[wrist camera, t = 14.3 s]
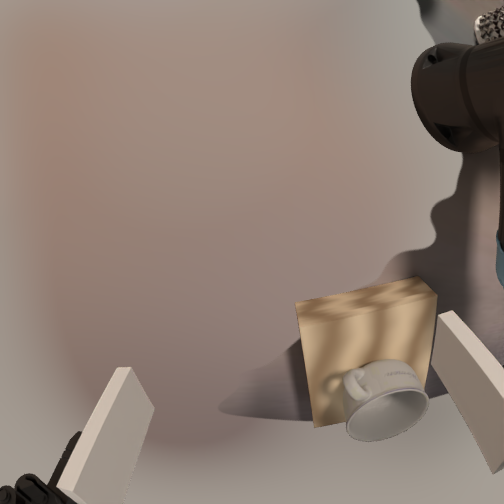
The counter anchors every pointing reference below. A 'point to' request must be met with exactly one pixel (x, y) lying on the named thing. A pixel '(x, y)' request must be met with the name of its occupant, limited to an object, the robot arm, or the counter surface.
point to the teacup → (382, 400)
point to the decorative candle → (489, 26)
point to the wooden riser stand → (363, 337)
